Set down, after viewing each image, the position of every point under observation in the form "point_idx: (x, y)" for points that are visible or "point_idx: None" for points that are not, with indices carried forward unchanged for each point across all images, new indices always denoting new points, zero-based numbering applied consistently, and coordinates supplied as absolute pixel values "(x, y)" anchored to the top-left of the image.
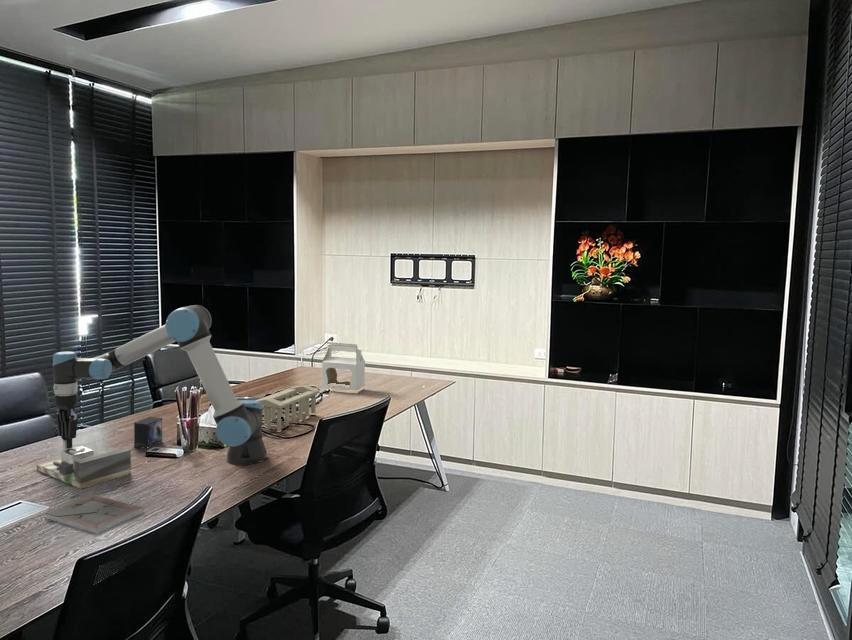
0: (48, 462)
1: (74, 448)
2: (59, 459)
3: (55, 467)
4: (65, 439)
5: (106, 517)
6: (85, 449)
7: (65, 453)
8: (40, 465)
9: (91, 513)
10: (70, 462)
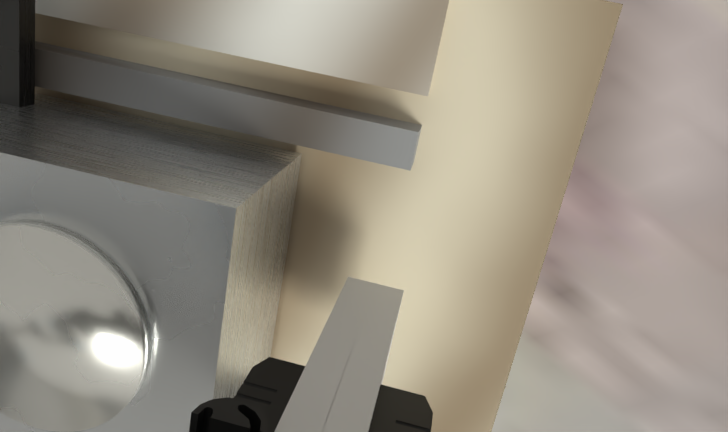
0: (539, 145)
1: (115, 356)
2: (507, 287)
3: (241, 21)
4: (194, 426)
5: None
6: (5, 404)
7: (92, 168)
8: (533, 4)
9: None
10: (35, 116)
